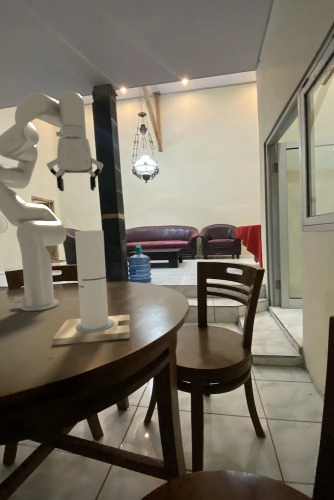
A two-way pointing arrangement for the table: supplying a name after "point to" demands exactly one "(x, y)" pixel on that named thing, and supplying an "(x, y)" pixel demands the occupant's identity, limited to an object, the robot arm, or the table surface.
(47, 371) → the table surface
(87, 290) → the cylindrical container
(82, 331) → the notched board
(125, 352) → the table surface
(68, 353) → the table surface
